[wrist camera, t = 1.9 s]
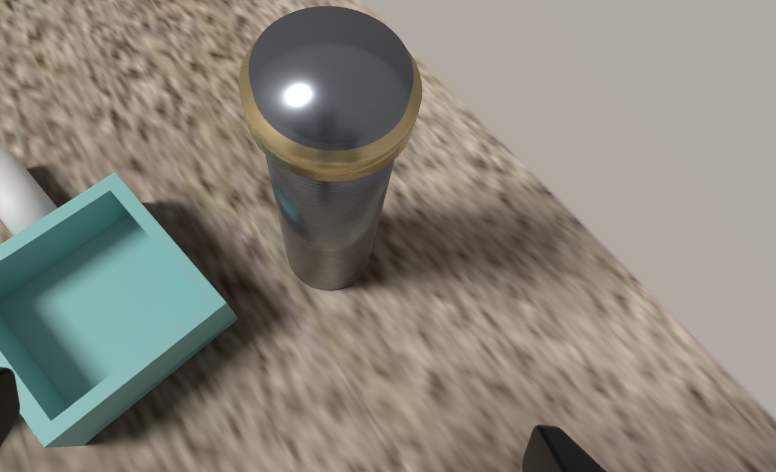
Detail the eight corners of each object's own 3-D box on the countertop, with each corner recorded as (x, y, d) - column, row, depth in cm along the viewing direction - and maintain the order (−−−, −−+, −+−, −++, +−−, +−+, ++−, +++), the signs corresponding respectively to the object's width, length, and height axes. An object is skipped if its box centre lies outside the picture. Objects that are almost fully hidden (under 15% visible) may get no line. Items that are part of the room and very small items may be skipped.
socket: (-43, 548, 18) (-109, 568, 16) (-201, 298, 21) (-282, 277, 18) (238, 318, 22) (226, 302, 20) (79, 133, 25) (49, 96, 22)
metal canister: (324, 316, 23) (323, 187, 11) (260, 246, 24) (195, 55, 12) (395, 254, 25) (463, 81, 13) (333, 190, 25) (340, -29, 13)
